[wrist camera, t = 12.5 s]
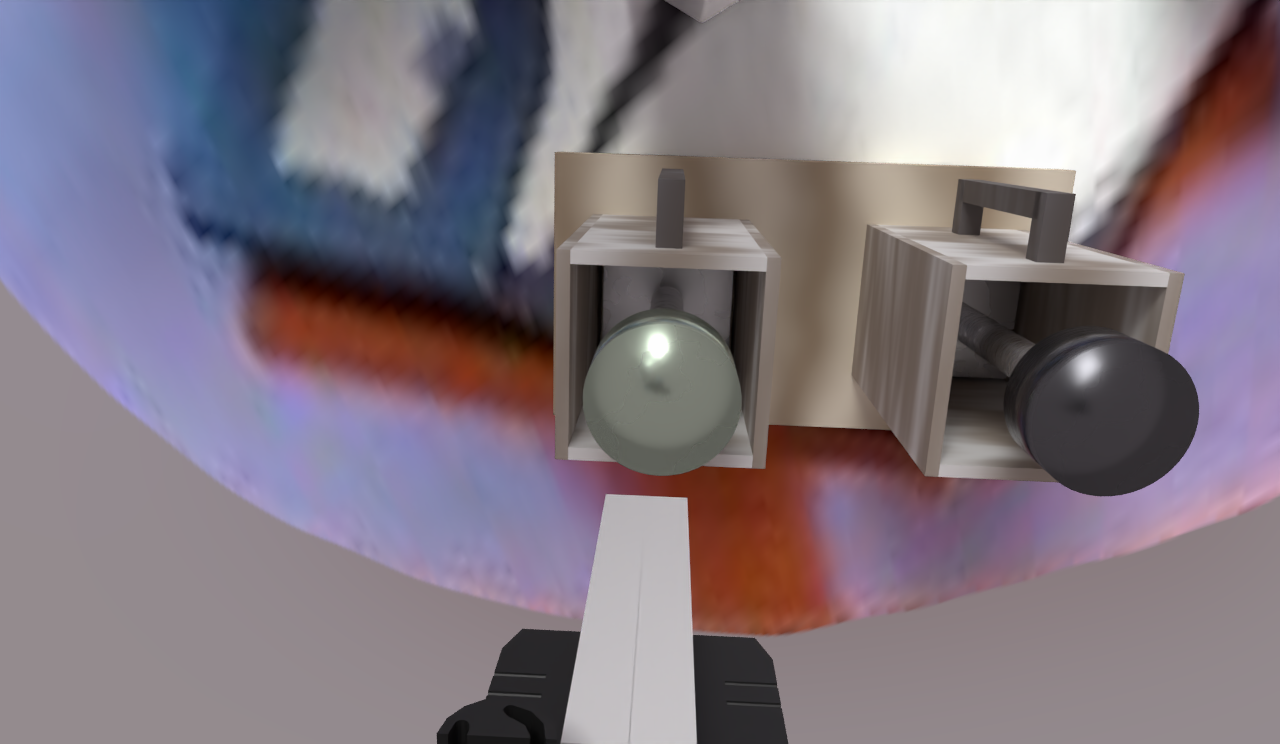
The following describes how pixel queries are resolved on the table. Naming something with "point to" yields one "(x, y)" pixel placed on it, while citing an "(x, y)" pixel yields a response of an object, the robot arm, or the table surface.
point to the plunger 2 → (1080, 395)
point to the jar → (702, 7)
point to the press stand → (843, 289)
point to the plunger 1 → (663, 369)
